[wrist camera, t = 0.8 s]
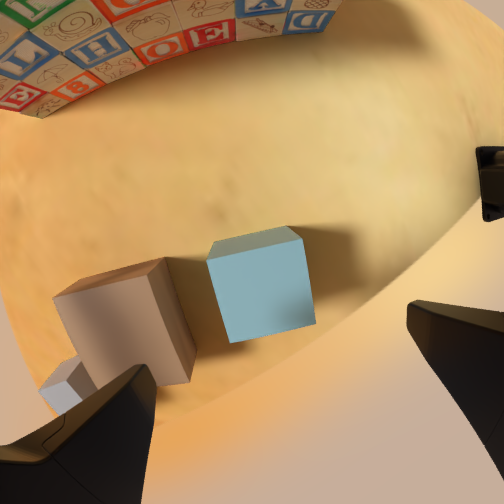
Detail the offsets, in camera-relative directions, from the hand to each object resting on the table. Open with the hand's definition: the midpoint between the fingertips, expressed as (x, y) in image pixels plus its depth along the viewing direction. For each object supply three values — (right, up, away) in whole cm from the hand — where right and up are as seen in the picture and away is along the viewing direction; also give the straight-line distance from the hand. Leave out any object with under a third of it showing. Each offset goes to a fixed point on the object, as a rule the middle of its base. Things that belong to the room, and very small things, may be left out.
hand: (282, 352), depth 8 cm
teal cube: (-1, +2, +9) cm, 10 cm away
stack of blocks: (-7, +18, +5) cm, 21 cm away
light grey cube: (-15, -8, +11) cm, 20 cm away
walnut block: (-9, -1, +10) cm, 13 cm away
